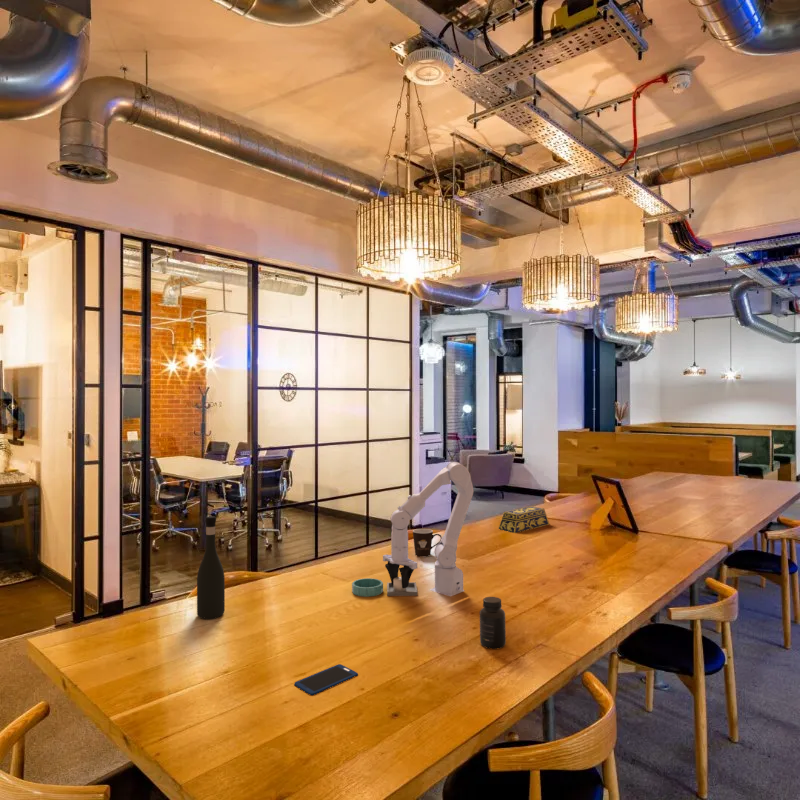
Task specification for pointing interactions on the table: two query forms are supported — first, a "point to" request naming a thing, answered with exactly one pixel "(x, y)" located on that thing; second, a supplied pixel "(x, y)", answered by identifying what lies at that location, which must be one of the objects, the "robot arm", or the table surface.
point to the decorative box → (523, 519)
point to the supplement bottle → (492, 624)
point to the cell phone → (325, 679)
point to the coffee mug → (423, 541)
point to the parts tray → (410, 591)
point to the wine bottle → (210, 578)
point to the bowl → (367, 587)
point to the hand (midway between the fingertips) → (399, 585)
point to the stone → (398, 584)
